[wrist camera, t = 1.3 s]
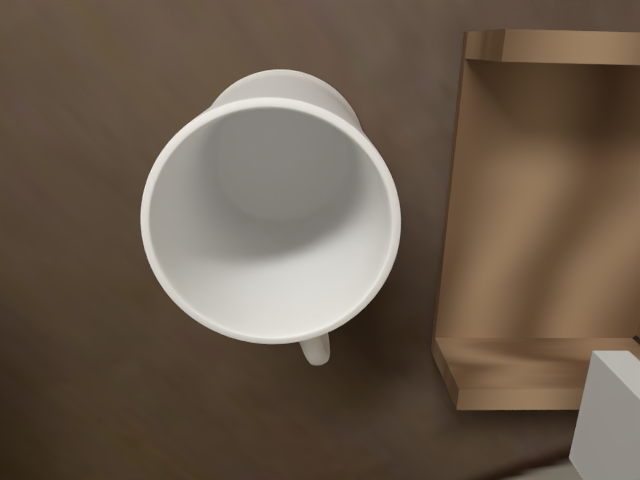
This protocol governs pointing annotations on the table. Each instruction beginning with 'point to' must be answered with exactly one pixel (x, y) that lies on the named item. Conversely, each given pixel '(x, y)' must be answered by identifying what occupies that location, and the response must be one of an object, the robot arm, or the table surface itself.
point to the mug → (272, 214)
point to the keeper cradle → (540, 217)
